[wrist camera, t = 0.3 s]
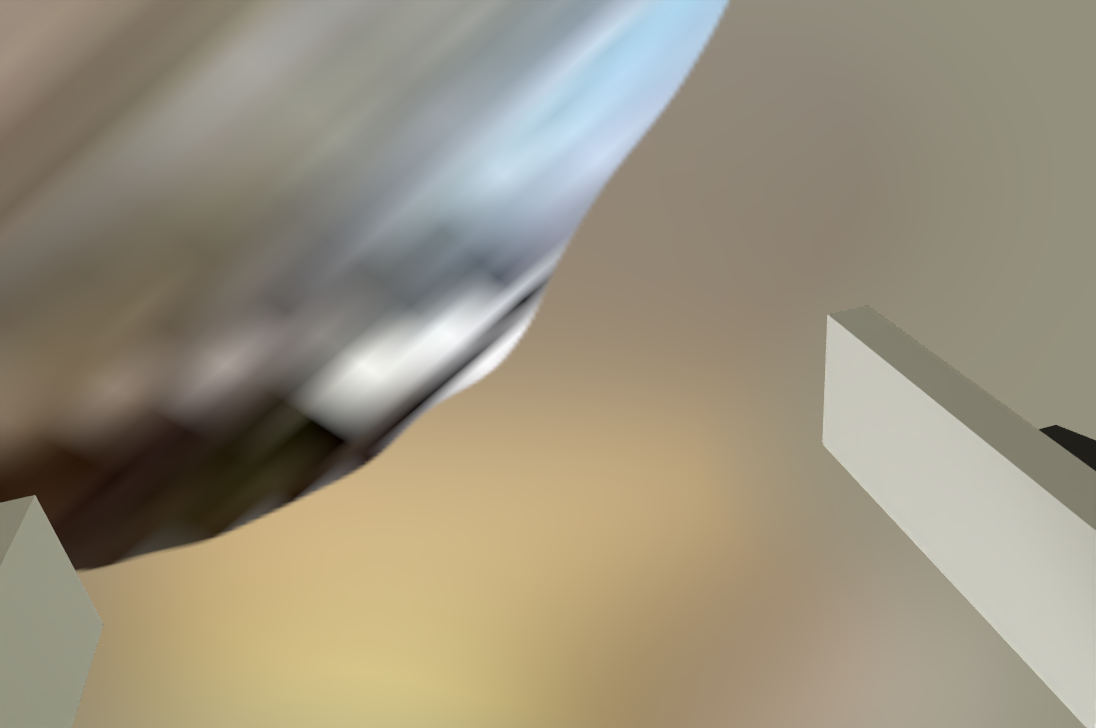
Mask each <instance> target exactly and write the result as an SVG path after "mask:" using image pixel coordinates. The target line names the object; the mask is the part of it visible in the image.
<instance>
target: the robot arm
mask: <svg viewBox="0 0 1096 728" xmlns="http://www.w3.org/2000/svg"><path fill="white" fill-rule="evenodd" d="M826 344H827V345H826V369H825V394H824V395H825V396H824V420H823V445H824V446H825V447H826V448H827V449H828V450H829V451H830V452H831V454H832V455H833V456H834V457H835V458H836V459H837V460H838V461H839V462H840V463H841V464H842V465H843V466H844V468H846V470H847V471H848V472H849V473H850V474H851V475H852V476H853V477H854V478H855V479H856V480H857V482H858V483H859V484H860V485H861V486H862V487H863V488H864V489H865V490H866V491H867V492H868V493H869V494H870V495H871V497H872V498H873V499H874V500H875V501H876V502H877V503H878V504H879V505H880V506H881V507H882V508H883V509H884V511H885V512H886V513H887V514H888V515H889V516H890V517H891V518H892V519H893V520H894V521H895V522H896V523H897V524H898V526H899V527H900V528H901V529H902V530H903V531H904V532H905V533H906V534H907V535H908V536H909V537H910V538H911V539H912V541H913V542H914V543H915V544H916V545H917V546H918V547H919V548H920V549H921V550H922V551H923V552H924V553H925V554H926V556H927V557H928V558H929V559H930V560H931V561H932V562H933V563H934V564H935V565H936V566H937V567H938V569H939V570H940V571H941V572H942V573H943V574H944V575H945V576H946V577H947V578H948V579H949V580H950V581H951V582H952V584H953V585H954V586H955V587H956V588H957V589H958V590H959V591H960V592H961V593H962V594H963V595H964V596H965V598H966V599H967V600H968V601H969V602H970V603H971V604H972V605H973V606H974V607H975V608H976V609H977V610H978V611H979V612H980V614H981V615H982V616H983V617H984V618H985V619H986V620H987V621H988V622H989V623H990V624H991V626H992V627H993V628H994V629H995V630H996V631H997V632H998V633H999V634H1000V635H1001V636H1002V637H1003V638H1004V639H1005V640H1006V642H1007V643H1008V644H1009V645H1010V646H1011V647H1012V648H1013V649H1014V650H1015V651H1016V652H1017V653H1018V655H1019V656H1021V658H1022V659H1023V660H1024V661H1025V662H1026V663H1027V664H1028V665H1029V666H1030V667H1031V668H1032V669H1033V671H1034V672H1035V673H1036V674H1037V675H1038V676H1039V677H1040V678H1041V679H1042V680H1043V681H1044V682H1045V683H1046V685H1047V686H1049V688H1050V689H1051V690H1052V691H1053V692H1054V693H1055V694H1056V695H1057V696H1058V697H1059V699H1060V700H1061V701H1062V702H1063V703H1064V704H1065V705H1066V706H1067V707H1068V708H1069V709H1070V710H1071V711H1072V713H1073V714H1074V715H1075V716H1076V717H1077V718H1078V719H1079V720H1080V721H1081V722H1082V723H1083V724H1084V725H1085V726H1086V728H1096V440H1093V439H1090V438H1088V437H1086V436H1083V435H1080V434H1077V433H1075V432H1073V431H1070V430H1068V429H1065V428H1062V427H1060V426H1058V425H1054V426H1050V427H1046V428H1043V429H1037V428H1035V427H1034V426H1033V425H1032V424H1030V423H1029V422H1027V421H1026V420H1025V419H1023V418H1022V417H1020V416H1019V415H1018V414H1016V413H1015V412H1014V411H1012V410H1011V409H1010V408H1008V407H1007V406H1006V405H1004V404H1003V403H1001V402H1000V401H999V400H997V399H996V398H995V397H993V396H992V395H990V394H989V393H988V392H986V391H985V390H984V389H982V388H981V387H979V386H978V385H977V384H975V383H974V382H973V381H971V380H970V379H969V378H967V377H966V376H964V375H963V374H962V373H960V372H959V371H958V370H956V369H955V368H954V367H952V366H951V365H949V364H948V363H947V362H945V361H944V360H943V359H941V358H940V357H938V356H937V355H936V354H934V353H933V352H932V351H930V350H929V349H928V348H926V347H925V346H923V345H922V344H921V343H919V342H918V341H917V340H915V339H914V338H912V337H911V336H910V335H908V334H907V333H906V332H904V331H903V330H901V329H900V328H899V327H897V326H896V325H895V324H893V323H892V322H891V321H889V320H888V319H886V318H885V317H884V316H882V315H881V314H880V313H878V312H877V311H875V310H874V309H873V308H871V307H870V306H869V305H866V306H862V307H857V308H853V309H848V310H844V311H840V312H835V313H831V314H828V317H827V342H826ZM102 627H103V622H102V620H101V618H100V617H99V615H98V613H97V611H96V609H95V607H94V605H93V603H92V601H91V600H90V598H89V596H88V594H87V592H86V590H85V588H84V587H83V584H82V583H81V581H80V579H79V577H78V575H77V573H76V571H75V569H74V568H73V566H72V564H71V562H70V560H69V558H68V556H67V554H66V552H65V551H64V549H63V547H62V545H61V543H60V541H59V539H58V537H57V536H56V534H55V532H54V530H53V528H52V526H51V524H50V522H49V520H48V519H47V517H46V515H45V513H44V511H43V509H42V507H41V505H40V504H39V502H38V500H37V498H36V496H35V495H33V496H29V497H25V498H20V499H16V500H11V501H7V502H3V503H0V728H72V725H73V722H74V719H75V716H76V712H77V709H78V706H79V702H80V699H81V696H82V692H83V689H84V686H85V683H86V680H87V676H88V673H89V670H90V666H91V663H92V660H93V656H94V653H95V650H96V647H97V644H98V640H99V637H100V634H101V631H102Z"/></svg>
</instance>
